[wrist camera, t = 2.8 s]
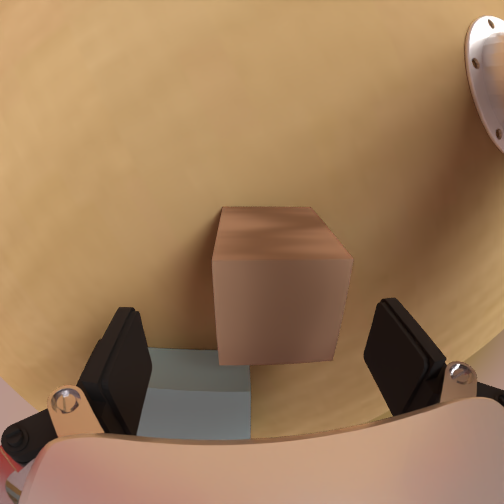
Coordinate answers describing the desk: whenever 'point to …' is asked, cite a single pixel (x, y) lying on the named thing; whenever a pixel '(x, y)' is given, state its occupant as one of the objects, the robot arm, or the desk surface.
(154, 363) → the plinth
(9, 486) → the robot arm
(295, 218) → the walnut block
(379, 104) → the desk surface
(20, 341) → the desk surface
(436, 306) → the desk surface
